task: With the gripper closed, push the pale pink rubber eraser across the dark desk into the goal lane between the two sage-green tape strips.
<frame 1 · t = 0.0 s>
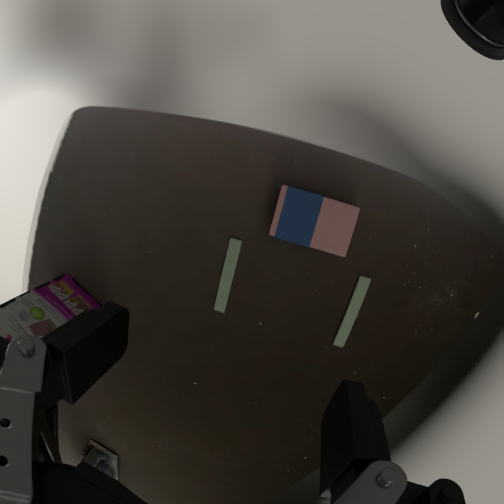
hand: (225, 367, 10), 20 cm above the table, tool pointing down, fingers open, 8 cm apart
goal lane: (290, 295, 30), on the table
eraser: (314, 218, 28), on the table
radio: (110, 469, 47), on the table
candy bar box: (90, 309, 35), on the table
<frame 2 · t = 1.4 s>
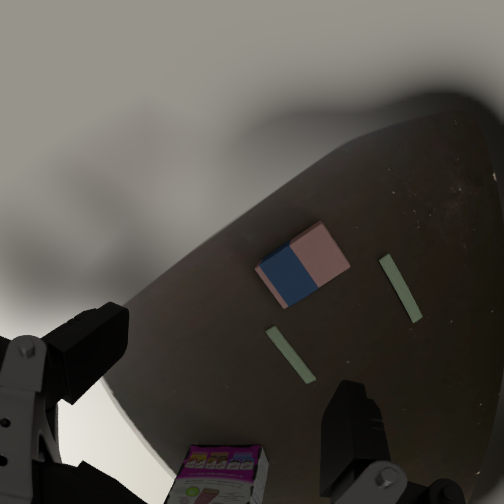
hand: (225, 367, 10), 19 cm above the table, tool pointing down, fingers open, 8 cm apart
goal lane: (346, 324, 28), on the table
eraser: (302, 260, 28), on the table
candy bar box: (230, 454, 36), on the table
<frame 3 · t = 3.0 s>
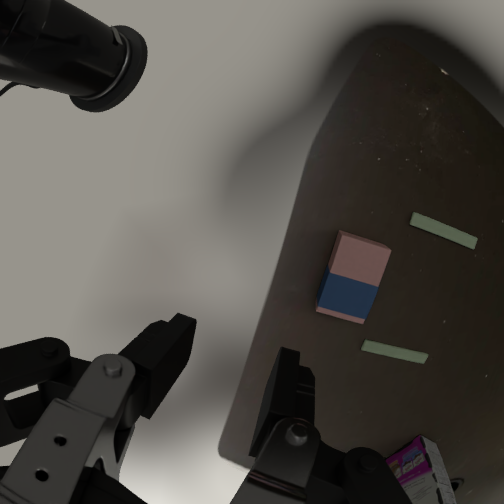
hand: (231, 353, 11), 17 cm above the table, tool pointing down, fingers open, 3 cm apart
goal lane: (422, 295, 26), on the table
eraser: (350, 273, 26), on the table
candy bar box: (399, 458, 31), on the table
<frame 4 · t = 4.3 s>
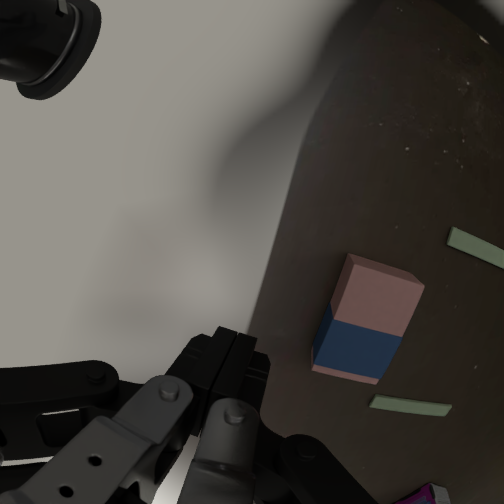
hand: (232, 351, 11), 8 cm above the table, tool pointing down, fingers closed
goal lane: (453, 337, 17), on the table
eraser: (361, 313, 18), on the table
candy bar box: (404, 503, 23), on the table
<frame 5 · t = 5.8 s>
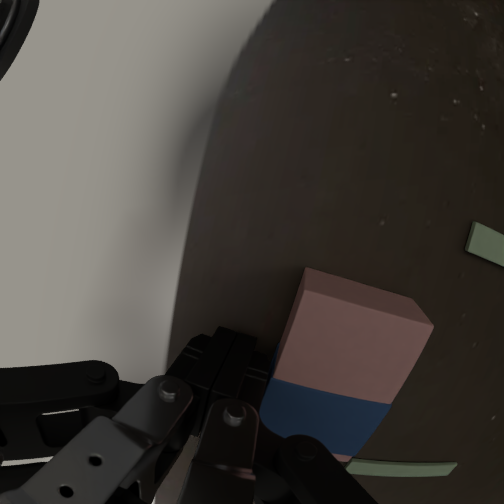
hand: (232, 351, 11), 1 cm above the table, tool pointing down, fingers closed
goal lane: (468, 386, 11), on the table
eraser: (330, 359, 11), on the table, touching gripper
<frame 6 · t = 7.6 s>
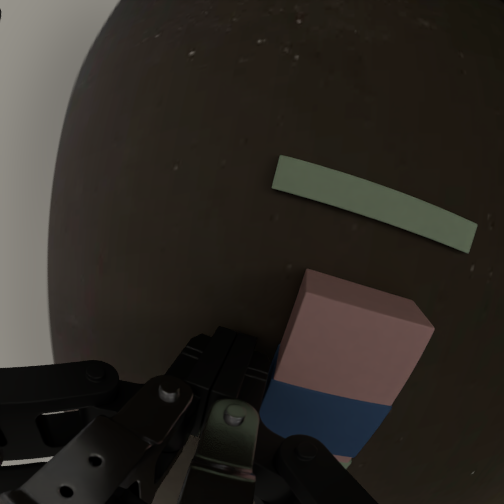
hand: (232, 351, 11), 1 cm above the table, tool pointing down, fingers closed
goal lane: (326, 361, 11), on the table
eraser: (330, 361, 11), on the table, touching gripper
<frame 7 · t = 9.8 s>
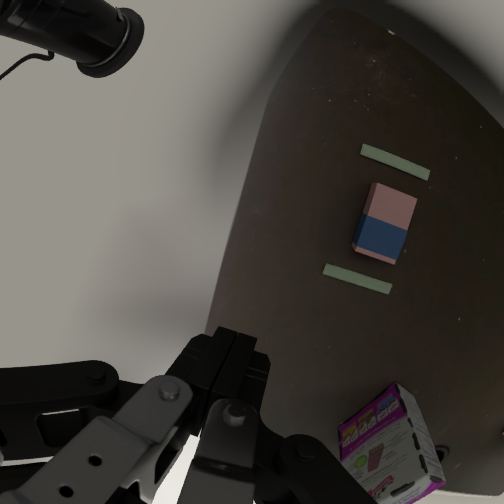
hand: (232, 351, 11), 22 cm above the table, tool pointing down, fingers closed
goal lane: (378, 221, 29), on the table
eraser: (381, 221, 29), on the table
candy bar box: (376, 411, 35), on the table
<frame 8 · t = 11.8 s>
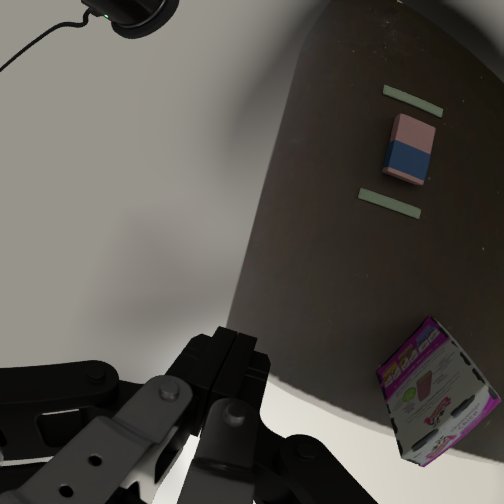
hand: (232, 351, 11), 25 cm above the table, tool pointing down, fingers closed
goal lane: (403, 150, 30), on the table
eraser: (405, 150, 30), on the table
candy bar box: (413, 350, 35), on the table
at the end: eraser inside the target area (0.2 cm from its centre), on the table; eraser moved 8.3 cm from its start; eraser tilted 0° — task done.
